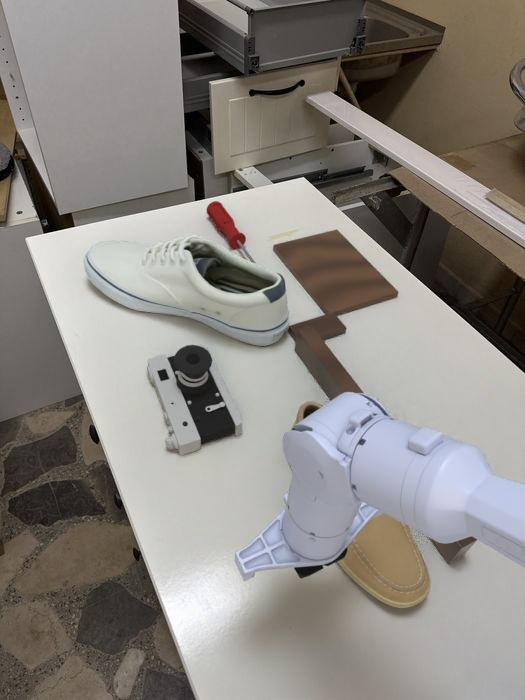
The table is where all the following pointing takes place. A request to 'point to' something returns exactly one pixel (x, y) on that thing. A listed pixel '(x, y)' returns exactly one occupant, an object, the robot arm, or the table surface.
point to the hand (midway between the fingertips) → (301, 566)
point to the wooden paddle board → (335, 299)
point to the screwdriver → (227, 226)
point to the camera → (193, 398)
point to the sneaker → (193, 285)
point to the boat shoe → (384, 555)
